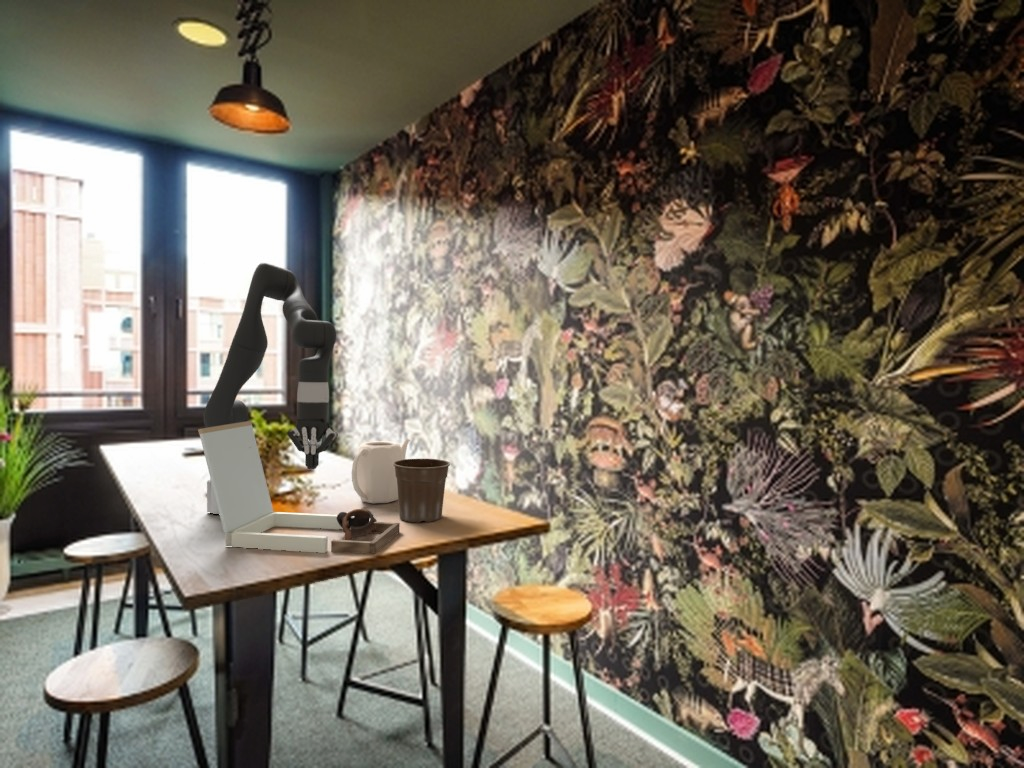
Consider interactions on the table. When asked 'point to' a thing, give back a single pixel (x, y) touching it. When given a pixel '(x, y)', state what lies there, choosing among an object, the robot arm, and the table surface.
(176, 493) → the table surface
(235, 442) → the cold frame
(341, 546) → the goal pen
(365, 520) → the pottery mug
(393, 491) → the watering can
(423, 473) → the plant pot
